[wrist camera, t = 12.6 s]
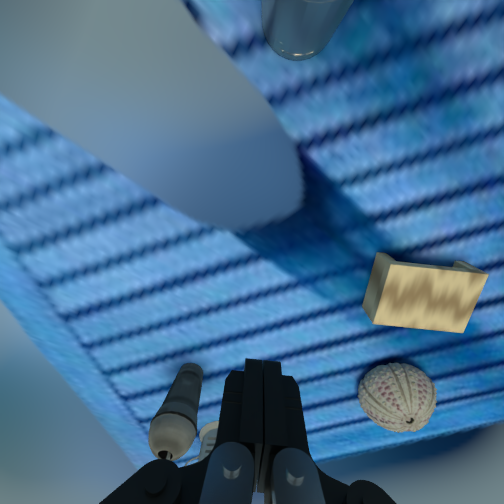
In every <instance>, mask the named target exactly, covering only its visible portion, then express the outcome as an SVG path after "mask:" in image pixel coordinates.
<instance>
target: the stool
mask: <svg viewBox="0 0 504 504" xmlns="http://www.w3.org/2000/svg"><path fill="white" fill-rule="evenodd" d="M488 275H489V274H487V273H485V272H483V271H481V270H479V269H478V268H476V267H474V266H472V265H470V264H468V263H466V262H464V261H455V262H454V265H453V267H445V266H435V265H426V264H416V263H407V262H397V261H395V260H394V259H393V258H391V257H390V256H389V255H388V254H387V253H378V252H377V254H376V258H375V262H374V265H373V269H372V272H371V276H370V280H369V283H368V287H367V291H366V294H365V298H364V302H363V305H362V307H363V309H364V311H365V312H366V314H367V315H368V317H369V318H370V320H371V321H372V323H373V324H380V325H390V326H400V327H409V328H419V329H429V330H438V331H448V332H458V333H463V332H464V330H465V328H466V325H467V323H468V321H469V318H470V316H471V314H472V312H473V309H474V307H475V305H476V302H477V300H478V298H479V296H480V293H481V291H482V289H483V286H484V284H485V282H486V280H487V277H488Z"/></svg>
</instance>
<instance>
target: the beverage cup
mask: <svg viewBox="0 0 504 504" xmlns="http://www.w3.org/2000/svg"><path fill="white" fill-rule="evenodd" d="M202 377H203V370H202V368H201V367H200V366H198V365H197V364H194V363H187V364H185V365H183V366H182V367H181V369H180V371H179V372H178V374H177V376H176V378H175V380H174V382H173V384H172V386H171V388H170V390H169V392H168V394H167V396H166V398H165V400H164V402H163V404H162V406H161V407H160V409H159V410H158V412H157V413H156V415H155V417H153V419H152V421H151V423H150V429H149V446H150V449H151V451H152V453H153V454H154V455H155V457H157V458H158V459H168V460H170V461H174V460H177V459H179V458H180V457H182V456H183V455H184V454H185V453H186V452H187V451H188V450H189V448H190V447H191V445H192V443H193V441H194V438H195V437H196V435H197V413H198V406H199V400H200V393H201V387H202V380H203V379H202Z"/></svg>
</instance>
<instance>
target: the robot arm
mask: <svg viewBox="0 0 504 504" xmlns="http://www.w3.org/2000/svg"><path fill="white" fill-rule="evenodd" d="M353 1H354V0H262V27H263V31H264V34H265V37H266V39H267V41H268V43H269V45H270V46H271V47H272V49H273V50H274V51H275V52H277V53H278V54H279V55H280V56H282V57H284V58H286V59H290V60H304V59H308V58H310V57H312V56H314V55H316V54H317V53H319V52H320V51H321V50H322V49H323V48H324V47H325V46H326V44H327V43H328V42H329V40H330V39H331V37H332V35H333V34H334V32H335V30H336V29H337V27H338V26H339V24H340V22H341V21H342V19H343V17H344V16H345V14H346V12H347V11H348V9H349V7H350V6H351V4H352V2H353ZM256 484H257V492H260V493H264V504H396V503H395V502H394V501H393V500H392V499H391V497H390V496H389V495H388V494H387V493H386V492H385V491H384V490H383V489H381V488H380V487H379V486H377V485H376V484H374V483H372V482H370V481H366V480H357V481H355V482H353V483H352V484H351V485H350V486H348V485H346V484H344V483H342V482H340V481H338V480H335V479H333V478H331V477H329V476H328V475H326V474H325V473H323V472H322V471H321V470H320V469H319V468H318V467H317V465H316V464H315V462H314V461H313V459H312V457H311V455H310V452H309V447H308V441H307V435H306V428H305V422H304V416H303V411H302V404H301V397H300V391H299V386H298V385H297V383H296V381H295V380H294V378H293V377H292V376H285V375H282V371H281V362H278V361H268V360H263V365H262V360H257V359H247V358H246V359H245V368H244V371H235V370H232V371H231V372H230V374H229V375H228V377H227V378H226V380H225V386H224V393H223V399H222V405H221V411H220V417H219V424H218V430H217V436H216V442H215V445H214V447H213V449H212V451H211V452H210V453H209V455H207V456H206V457H205V458H204V459H203V460H201V461H199V462H197V463H195V464H191V465H188V466H184V467H180V468H178V466H177V465H176V464H175V463H174V462H172V461H170V460H168V459H157V460H153V461H151V462H149V463H147V464H146V465H144V466H143V467H142V468H140V469H139V470H138V471H137V472H136V473H135V474H133V475H132V476H131V477H130V478H129V479H128V480H126V481H125V482H124V483H123V484H122V485H121V486H119V487H118V488H117V489H116V490H114V491H113V492H112V493H111V494H110V495H108V496H107V497H106V498H105V499H104V500H103V501H101V502H100V503H99V504H251V502H252V495H253V492H255V490H256Z"/></svg>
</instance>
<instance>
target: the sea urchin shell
mask: <svg viewBox="0 0 504 504" xmlns="http://www.w3.org/2000/svg"><path fill="white" fill-rule="evenodd" d="M358 386H359V388H358V393H359V395H358V398H359V403H360V404H361V407H362V408H363V410H364V412H365V413H367V416H369V417H370V419H372V420H373V421H374V422H375V423H377V425H380V426H381V427H383V428H386V429H388V430H392V431H394V432H396V431H397V432H398V433H399V432H403V431H413V432H415V431H416V430H419V429H421V428H423V426H424V425H425V424H427V423H428V422H429V421H428V420H429V418H430V417H431V414H432V413H433V412H434V408H435V407H436V405H435V403H436V402H437V401H436V394H437V393H436V390H437V389H436V388H435V385H434V383H433V382H432V381H431V379H429V378H428V377H427V376H426V374H425V373H424V372H422V371H420V370H419V369H418V368H415V367H414V366H411V365H408V364H405V363H404V364H403V363H402V364H399V363H398V362H397V363H389V364H388V365H380V366H377V367H376V368H374V369H372V370H371V371H369V372H367V374H365V377H364V379H362V380H361V382H360V384H359V385H358Z"/></svg>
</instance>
